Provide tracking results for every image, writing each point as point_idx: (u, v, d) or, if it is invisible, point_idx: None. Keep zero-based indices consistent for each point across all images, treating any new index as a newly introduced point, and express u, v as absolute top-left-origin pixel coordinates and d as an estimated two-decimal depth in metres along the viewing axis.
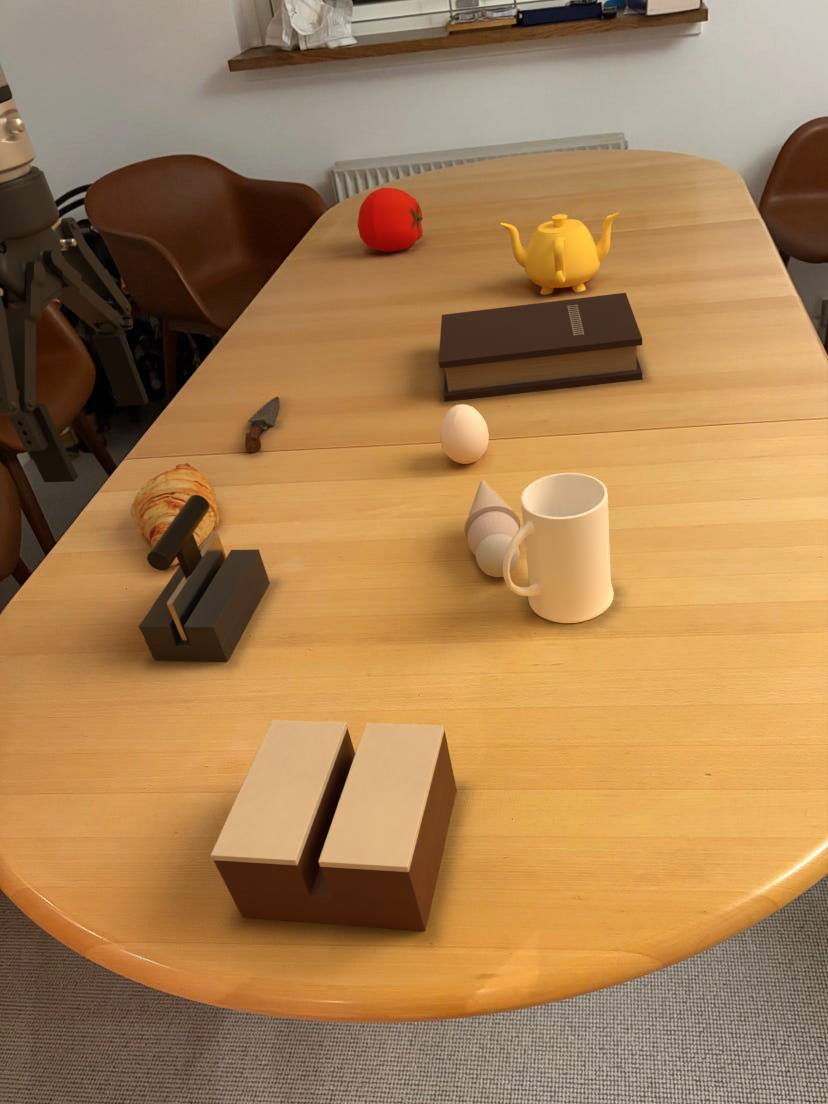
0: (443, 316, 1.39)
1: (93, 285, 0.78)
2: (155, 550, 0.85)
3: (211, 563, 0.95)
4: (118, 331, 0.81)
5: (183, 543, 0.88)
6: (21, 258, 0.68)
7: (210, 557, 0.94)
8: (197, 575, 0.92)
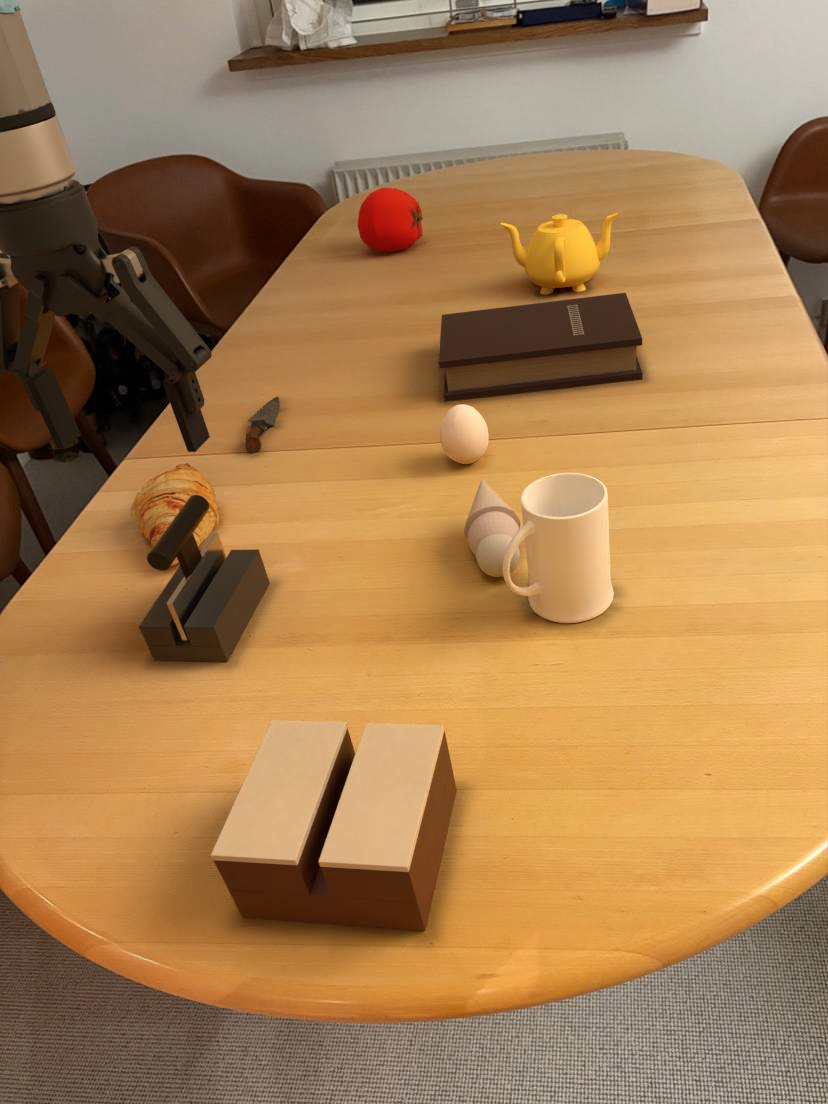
0: (443, 316, 1.39)
1: (12, 328, 0.77)
2: (155, 550, 0.85)
3: (211, 563, 0.95)
4: None
5: (183, 543, 0.88)
6: None
7: (210, 557, 0.94)
8: (197, 575, 0.92)
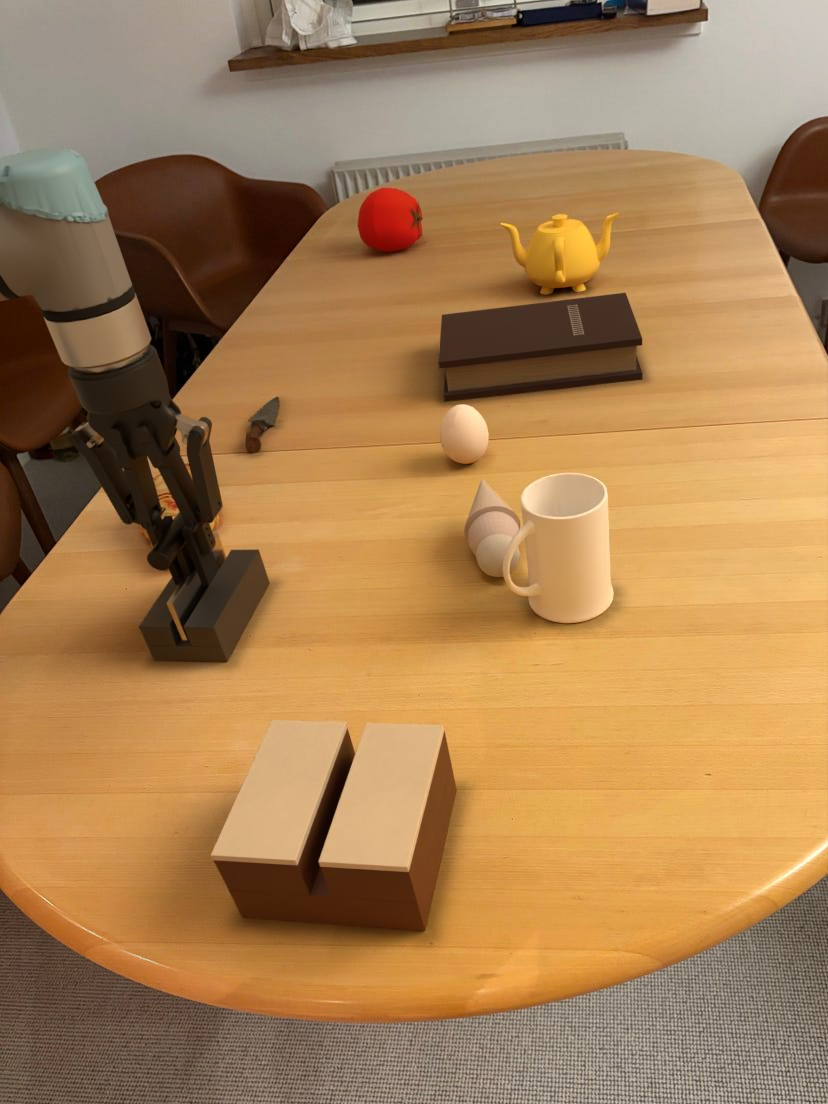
0: (443, 316, 1.39)
1: (120, 481, 0.86)
2: (155, 550, 0.85)
3: None
4: (161, 518, 0.89)
5: (183, 543, 0.88)
6: None
7: None
8: (197, 575, 0.92)
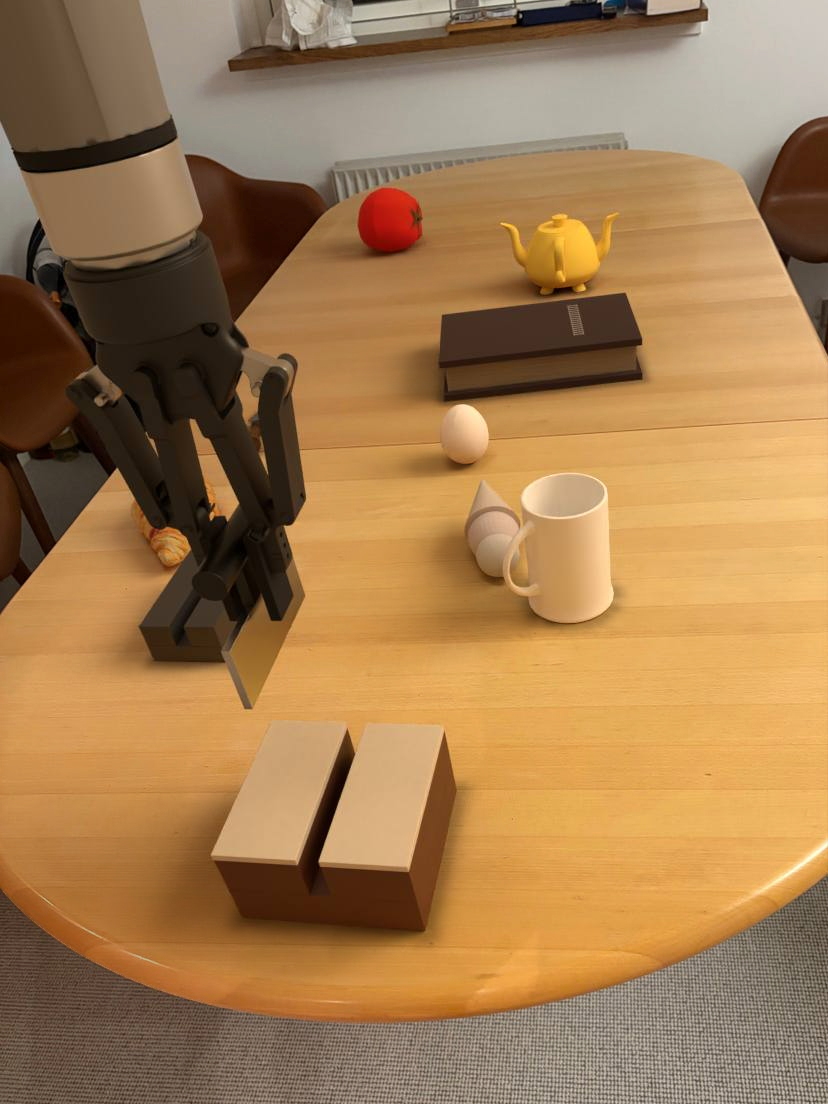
0: (443, 316, 1.39)
1: (148, 461, 0.55)
2: (205, 569, 0.53)
3: None
4: (209, 519, 0.58)
5: (245, 557, 0.56)
6: None
7: None
8: (263, 605, 0.60)
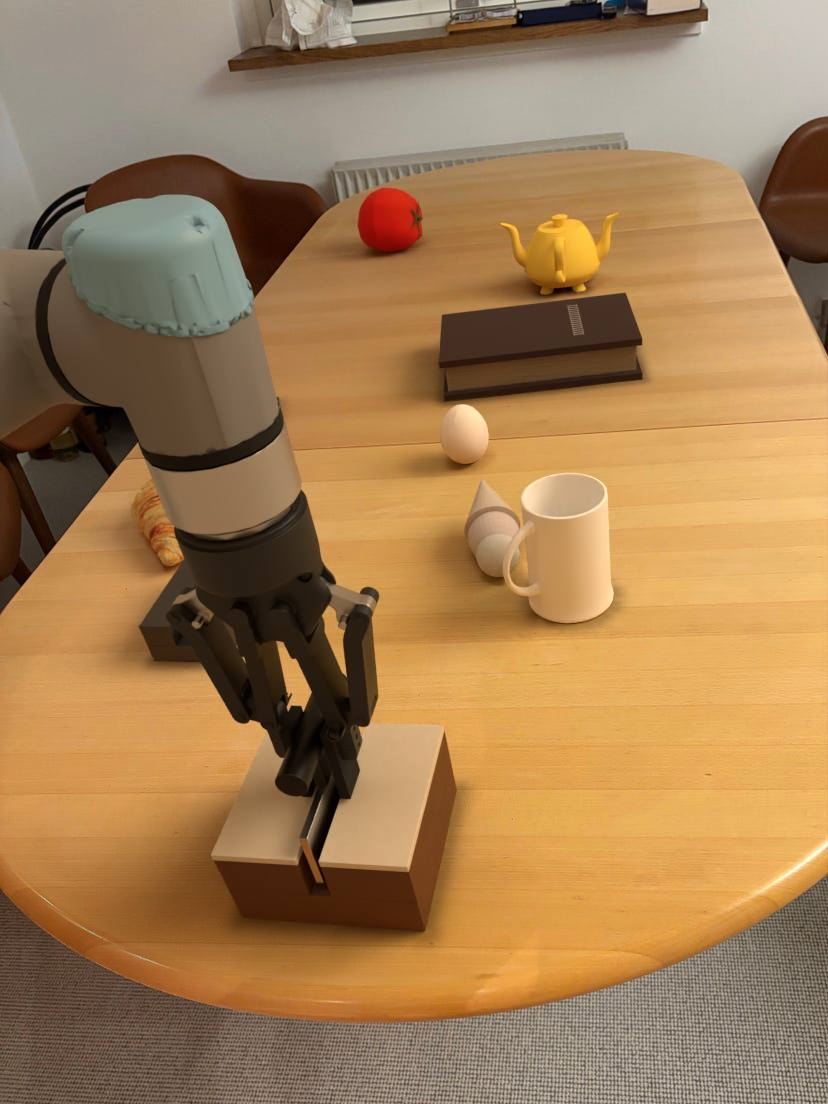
0: (443, 316, 1.39)
1: (235, 666, 0.59)
2: (288, 771, 0.58)
3: None
4: (286, 710, 0.62)
5: (322, 750, 0.61)
6: None
7: None
8: (332, 782, 0.65)
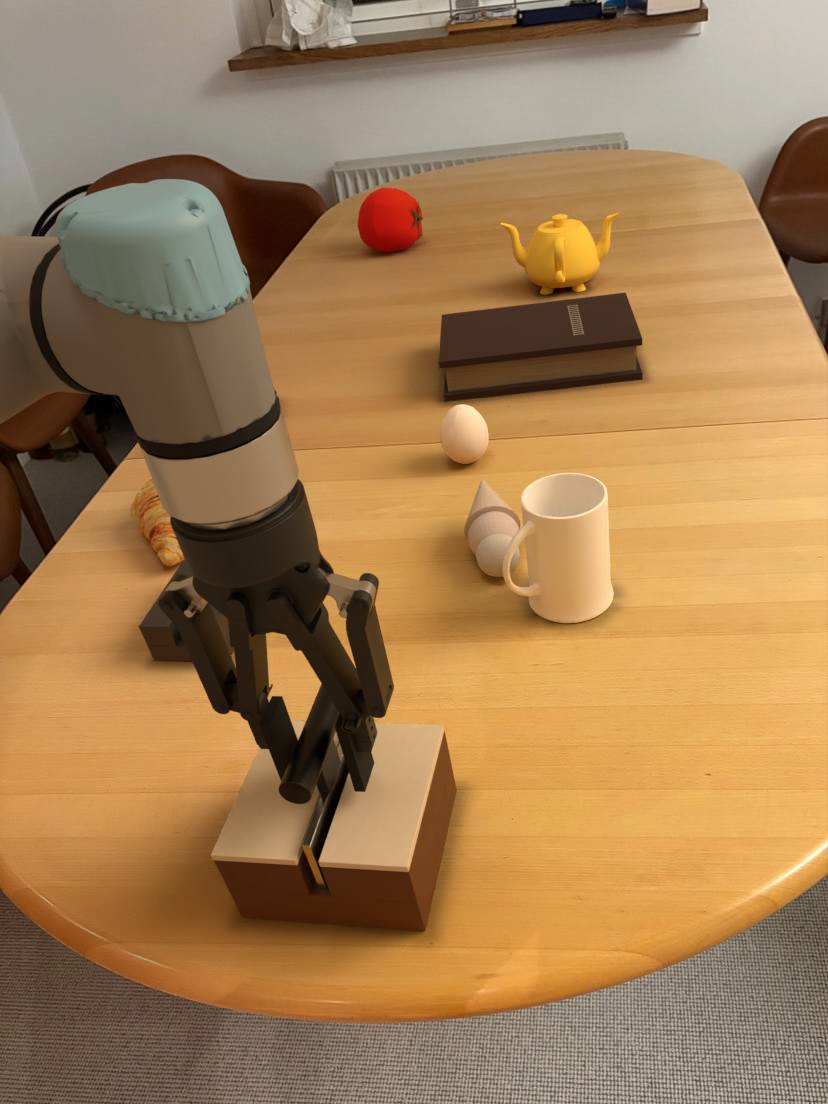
0: (443, 316, 1.39)
1: (220, 656, 0.59)
2: (291, 779, 0.58)
3: None
4: None
5: (325, 758, 0.61)
6: None
7: None
8: (335, 789, 0.66)
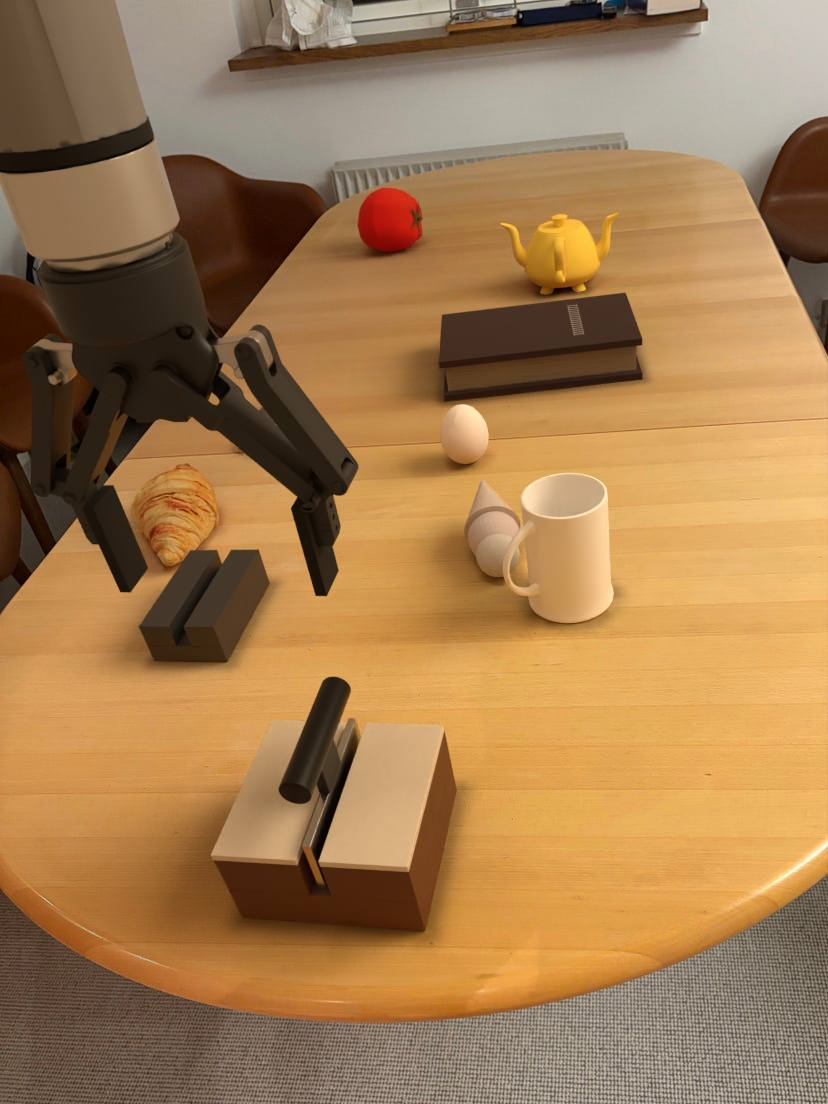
0: (443, 316, 1.39)
1: (62, 436, 0.54)
2: (291, 779, 0.58)
3: (349, 764, 0.68)
4: None
5: (325, 758, 0.61)
6: None
7: (348, 756, 0.68)
8: (335, 789, 0.66)
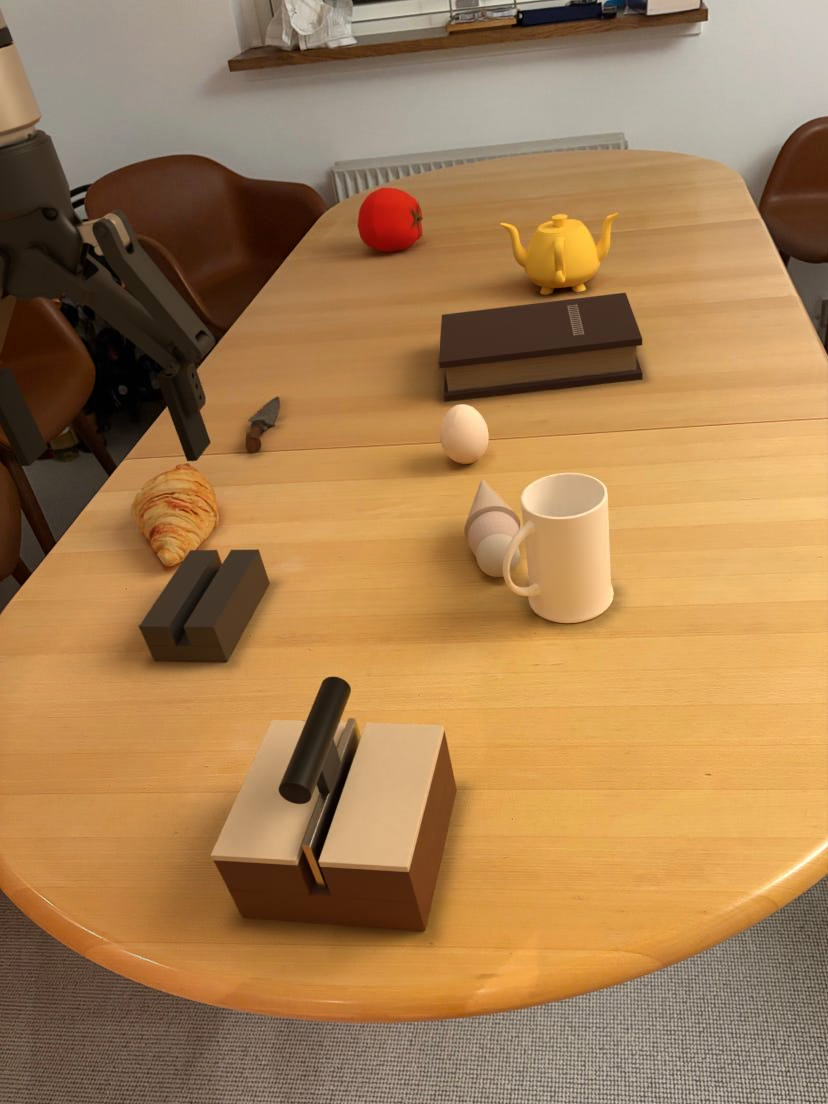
0: (443, 316, 1.39)
1: None
2: (291, 779, 0.58)
3: (349, 764, 0.68)
4: None
5: (325, 758, 0.61)
6: None
7: (348, 756, 0.68)
8: (335, 789, 0.66)
